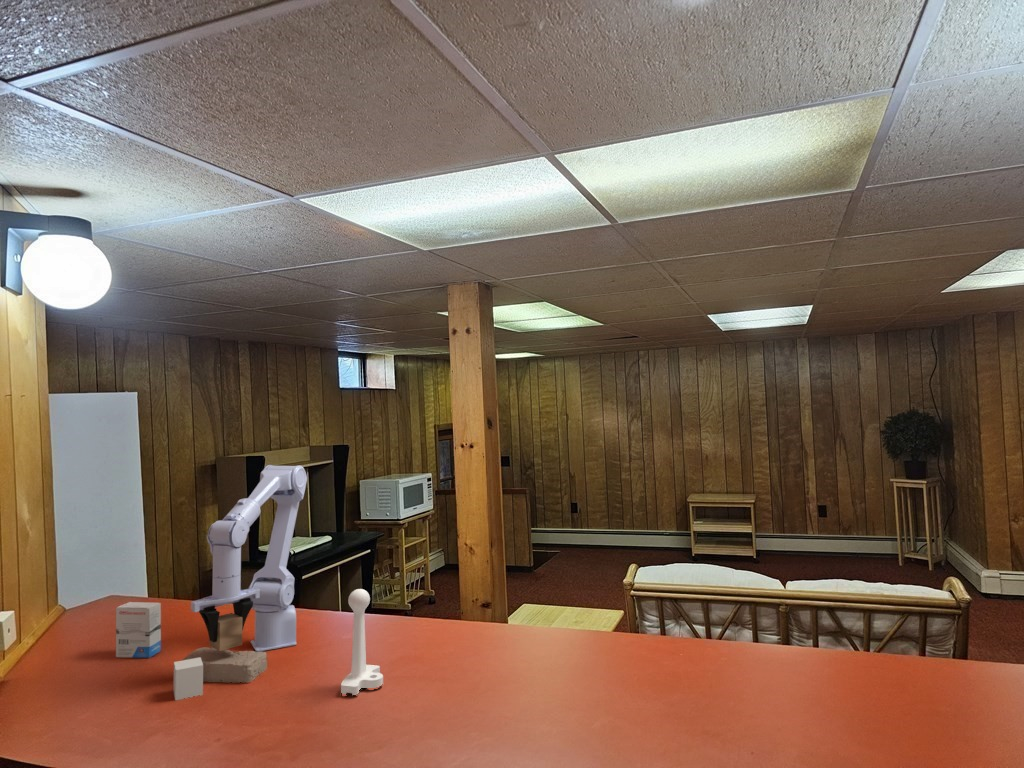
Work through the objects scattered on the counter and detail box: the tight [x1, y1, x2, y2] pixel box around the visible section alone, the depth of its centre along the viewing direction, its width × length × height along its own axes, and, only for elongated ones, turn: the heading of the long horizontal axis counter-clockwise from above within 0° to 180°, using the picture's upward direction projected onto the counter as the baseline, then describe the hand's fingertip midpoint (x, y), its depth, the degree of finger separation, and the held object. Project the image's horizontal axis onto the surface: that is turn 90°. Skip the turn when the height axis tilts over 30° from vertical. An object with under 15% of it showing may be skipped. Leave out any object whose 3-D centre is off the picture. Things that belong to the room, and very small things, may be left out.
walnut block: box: [208, 612, 243, 651], centre depth 145 cm, size 5×5×6 cm
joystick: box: [340, 588, 384, 696], centre depth 137 cm, size 11×8×20 cm
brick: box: [180, 646, 268, 684], centre depth 144 cm, size 16×8×5 cm, turn 84°
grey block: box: [172, 657, 204, 701], centre depth 134 cm, size 5×5×6 cm
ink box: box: [115, 601, 162, 659], centre depth 156 cm, size 9×5×12 cm, turn 84°
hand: (225, 637), depth 145 cm, fingers closed on walnut block, 5 cm apart
